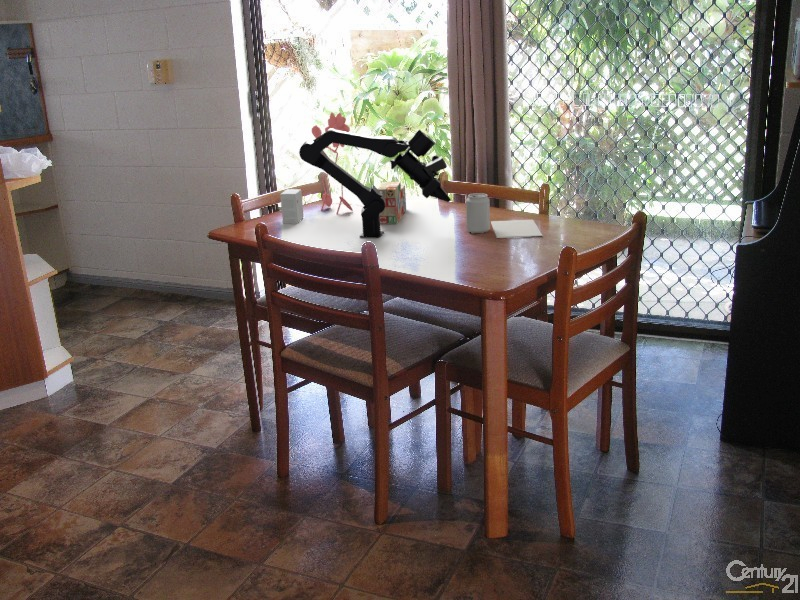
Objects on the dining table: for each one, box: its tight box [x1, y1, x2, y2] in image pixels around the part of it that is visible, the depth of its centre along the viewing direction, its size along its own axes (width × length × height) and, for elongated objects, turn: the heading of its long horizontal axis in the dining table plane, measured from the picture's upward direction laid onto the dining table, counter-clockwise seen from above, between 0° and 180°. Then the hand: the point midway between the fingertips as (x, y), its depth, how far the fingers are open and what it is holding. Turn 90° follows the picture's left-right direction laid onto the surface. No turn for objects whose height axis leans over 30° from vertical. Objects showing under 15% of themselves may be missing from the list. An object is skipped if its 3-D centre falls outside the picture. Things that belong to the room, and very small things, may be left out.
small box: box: [279, 188, 304, 224], centre depth 282 cm, size 8×6×10 cm
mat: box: [490, 219, 543, 239], centre depth 259 cm, size 14×20×1 cm
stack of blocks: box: [377, 181, 407, 225], centre depth 281 cm, size 21×6×12 cm, turn 171°
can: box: [465, 192, 491, 234], centre depth 257 cm, size 8×8×12 cm
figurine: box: [311, 112, 364, 217], centre depth 292 cm, size 15×26×35 cm, turn 43°
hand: (449, 200), depth 256 cm, fingers closed
